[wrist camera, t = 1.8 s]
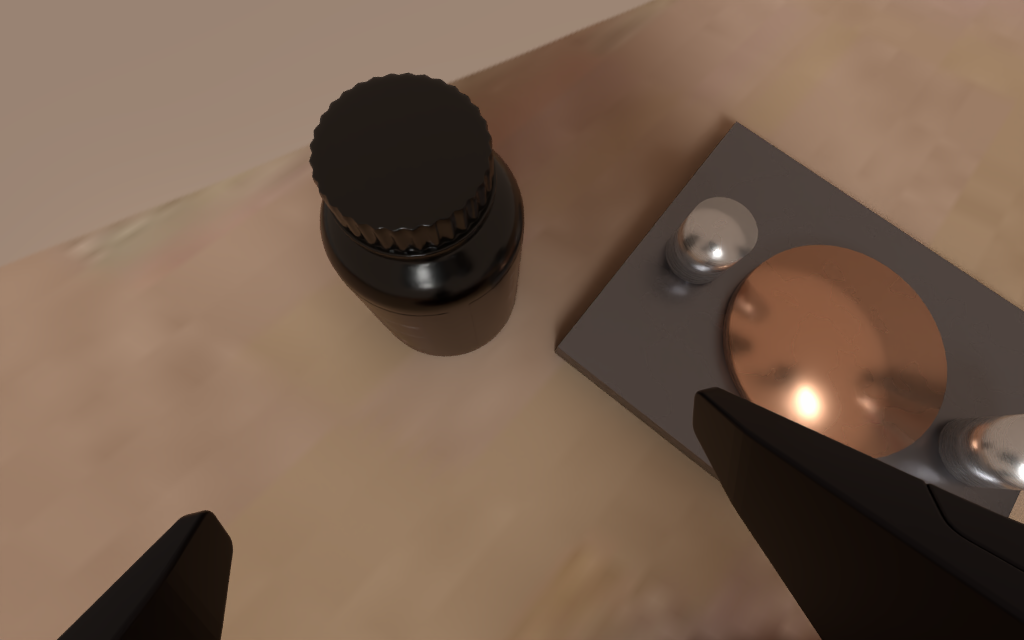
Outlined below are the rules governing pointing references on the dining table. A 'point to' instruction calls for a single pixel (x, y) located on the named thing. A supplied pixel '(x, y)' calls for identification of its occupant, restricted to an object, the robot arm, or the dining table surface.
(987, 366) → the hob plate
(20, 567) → the dining table surface
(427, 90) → the supplement bottle
